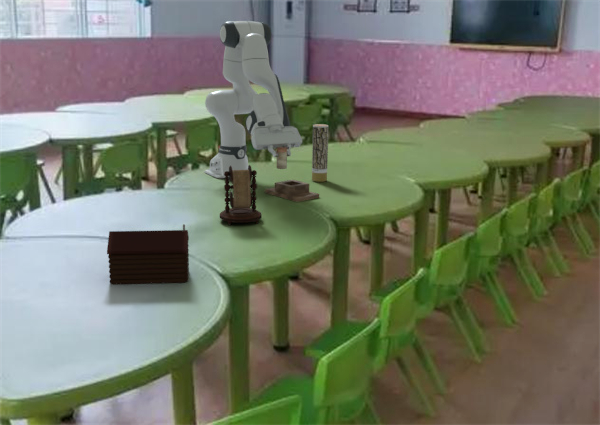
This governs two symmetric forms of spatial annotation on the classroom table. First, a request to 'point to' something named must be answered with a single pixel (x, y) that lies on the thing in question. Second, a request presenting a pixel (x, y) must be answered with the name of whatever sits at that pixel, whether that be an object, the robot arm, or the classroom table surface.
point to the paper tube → (320, 152)
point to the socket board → (292, 190)
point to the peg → (282, 158)
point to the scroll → (240, 197)
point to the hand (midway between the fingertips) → (282, 155)
